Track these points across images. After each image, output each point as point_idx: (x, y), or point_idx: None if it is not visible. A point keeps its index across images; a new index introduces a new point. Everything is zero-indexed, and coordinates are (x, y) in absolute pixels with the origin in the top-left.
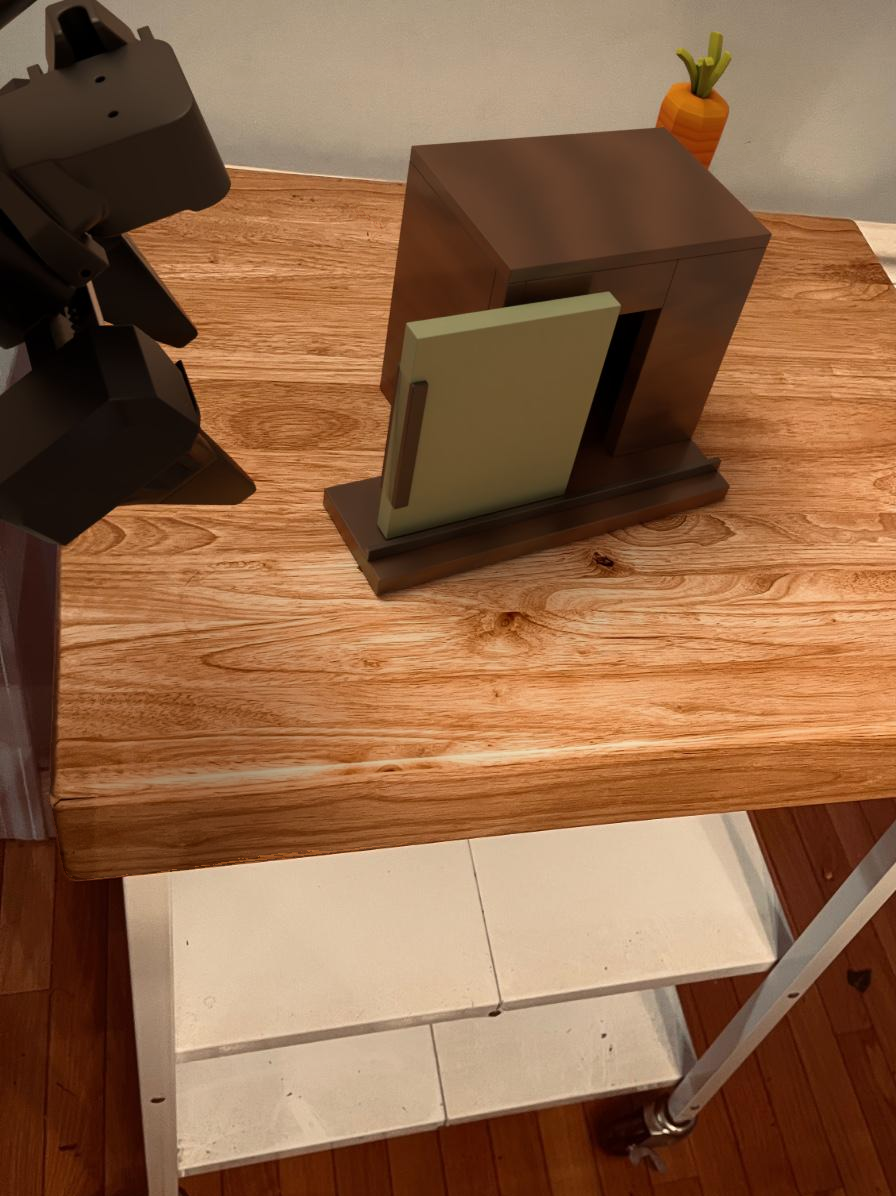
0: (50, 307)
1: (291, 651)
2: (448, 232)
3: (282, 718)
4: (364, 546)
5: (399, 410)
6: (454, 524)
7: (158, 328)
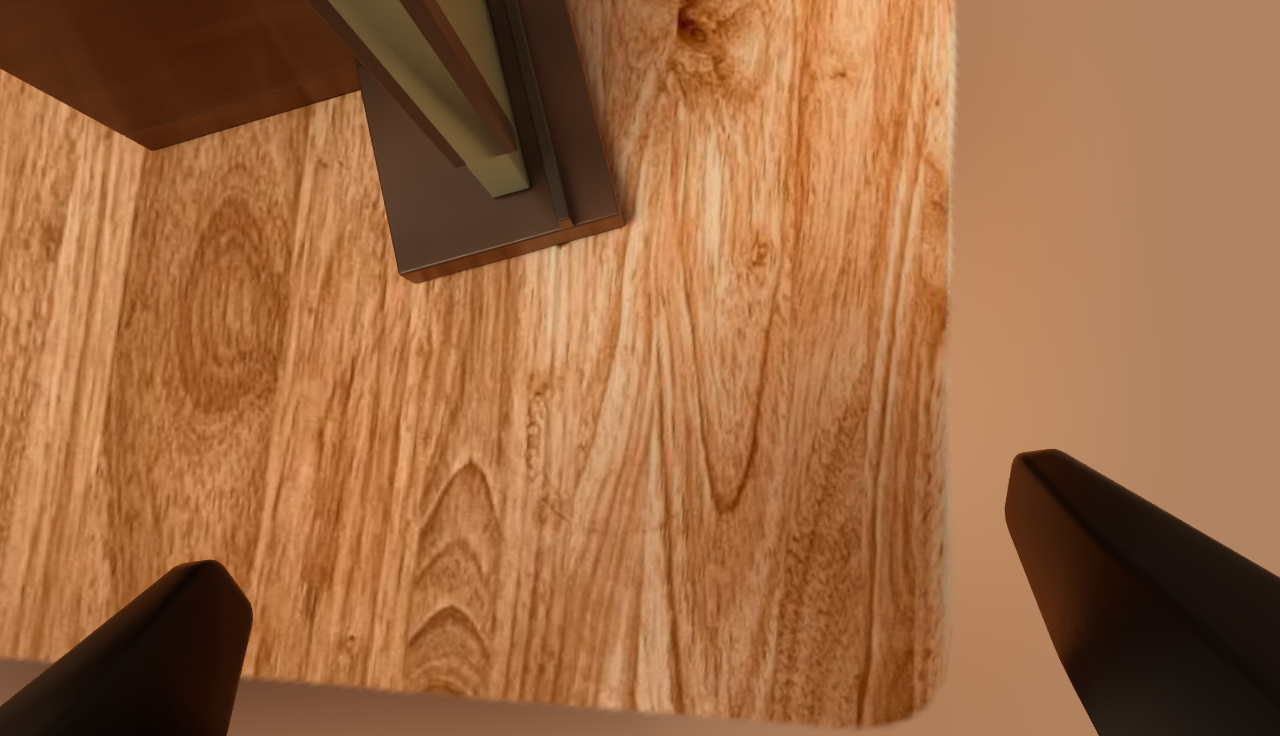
0: None
1: (722, 374)
2: None
3: (853, 404)
4: (540, 226)
5: (392, 39)
6: (520, 64)
7: (195, 719)
